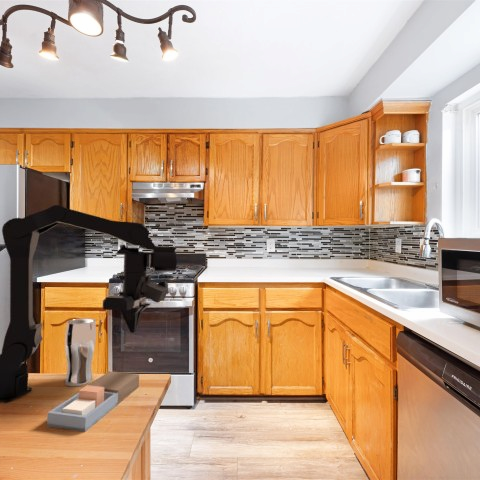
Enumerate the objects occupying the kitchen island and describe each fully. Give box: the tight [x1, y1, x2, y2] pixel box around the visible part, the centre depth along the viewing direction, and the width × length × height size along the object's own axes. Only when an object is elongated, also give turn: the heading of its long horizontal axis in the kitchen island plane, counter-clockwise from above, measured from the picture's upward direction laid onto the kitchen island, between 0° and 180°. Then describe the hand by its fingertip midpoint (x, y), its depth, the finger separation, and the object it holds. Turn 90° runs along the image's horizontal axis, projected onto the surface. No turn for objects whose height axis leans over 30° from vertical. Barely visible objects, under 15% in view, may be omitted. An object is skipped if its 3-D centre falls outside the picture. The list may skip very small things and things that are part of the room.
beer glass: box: [64, 317, 97, 387], centre depth 78 cm, size 7×7×15 cm
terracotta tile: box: [78, 384, 104, 408], centre depth 63 cm, size 4×4×2 cm
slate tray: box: [46, 391, 119, 433], centre depth 62 cm, size 8×10×2 cm
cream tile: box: [63, 399, 95, 416], centre depth 60 cm, size 4×4×2 cm
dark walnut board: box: [87, 371, 140, 405], centre depth 71 cm, size 8×9×3 cm
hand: (133, 332), depth 80 cm, fingers closed
